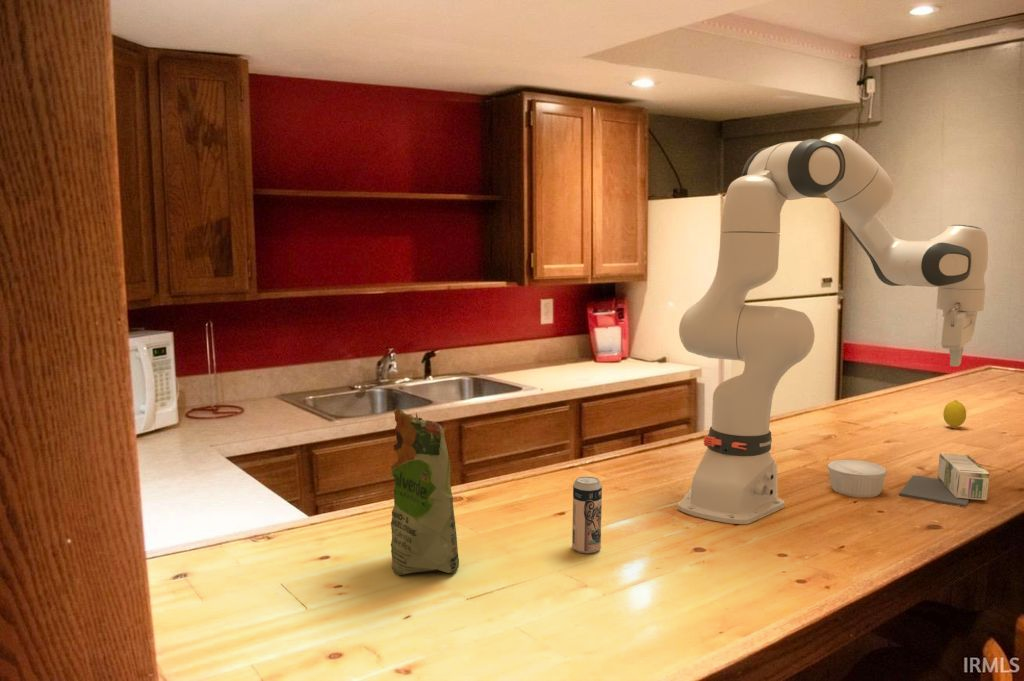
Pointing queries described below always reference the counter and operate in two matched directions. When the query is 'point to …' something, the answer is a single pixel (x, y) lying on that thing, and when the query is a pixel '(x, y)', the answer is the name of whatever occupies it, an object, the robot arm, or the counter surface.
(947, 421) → the lemon
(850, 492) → the ramekin
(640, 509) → the counter surface
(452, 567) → the pouch
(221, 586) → the counter surface
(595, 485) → the beer can
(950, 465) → the syrup box
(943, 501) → the mat
